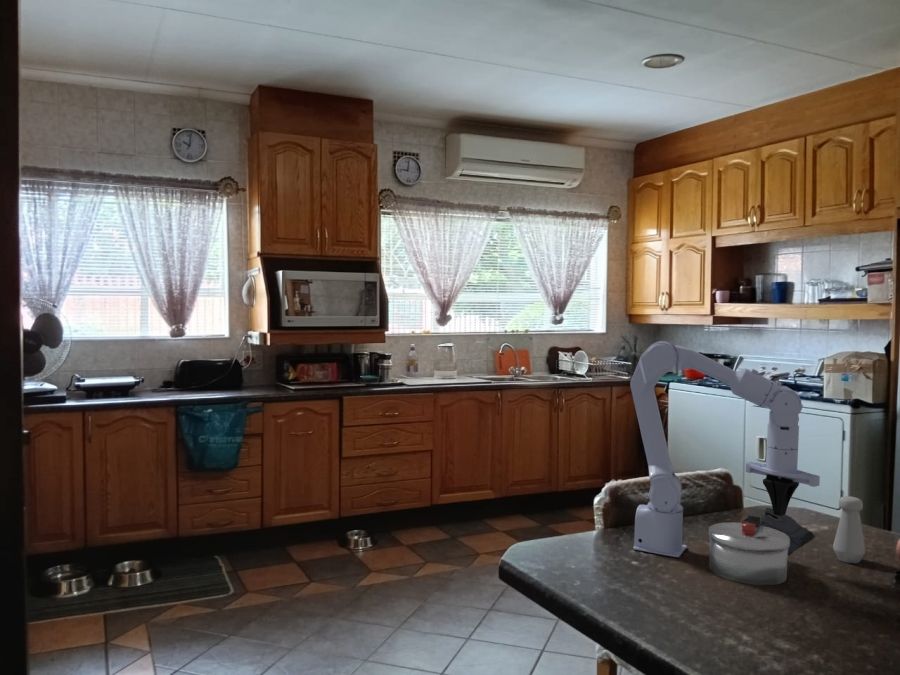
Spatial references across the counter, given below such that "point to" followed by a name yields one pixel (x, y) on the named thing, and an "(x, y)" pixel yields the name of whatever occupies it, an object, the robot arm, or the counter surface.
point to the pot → (748, 565)
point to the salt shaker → (849, 531)
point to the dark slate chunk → (786, 528)
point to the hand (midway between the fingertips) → (779, 514)
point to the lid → (750, 535)
